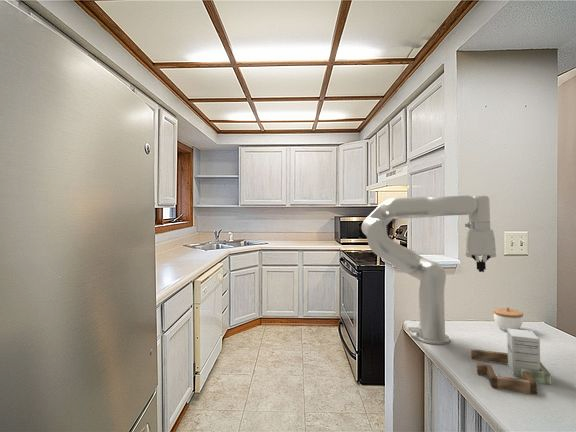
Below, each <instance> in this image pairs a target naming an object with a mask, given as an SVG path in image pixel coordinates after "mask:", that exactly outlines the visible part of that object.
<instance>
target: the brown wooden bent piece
mask: <svg viewBox="0 0 576 432" xmlns="http://www.w3.org/2000/svg"><path fill="white" fill-rule="evenodd" d="M486 370H487V376H486V378H487V380H488V383H489V385H490V387H491V389H498V390H504V391H505V390H506V391H513V392H520V393H526V394H530V395H531V394H533V395H537V394H538V384H537V382H535V381H534V379H533V378H532V376H531V375H530V373H529V372H528V371H522V376H523V379H521V378H515V377H508V376H501V375H496V373H495V370H494V368H493V367H488V366H486Z"/></svg>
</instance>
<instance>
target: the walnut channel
mask: <svg viewBox="0 0 576 432" xmlns="http://www.w3.org/2000/svg"><path fill="white" fill-rule="evenodd" d="M470 354H471V355H470V356H471V357H470V358H471V360H475V361H482V362H483V361H484V362H491V361H492V362H493V363H499V362H501V364H508V352H502V351H493V350H492V351H491V350H483V349H474V348H471V349H470ZM492 362H491V363H492ZM486 366H488V367H492V364H486V363H478V362H477V363H476V374H477V375H478V374H479V376H485V375H486V377H487V370H486ZM492 368H493V367H492ZM522 371H528V372H529V373H530V375H531V376H532V378H533V379H534V381H535V382H536V383H539V384H544V385H545V384H546V385H551V383H552V381H551V380H552V379H551V377H552V376H551V373H550V371H549V370H548V369H547V368H546V367H545V365H543V363H542V362H541V361H540V371H537V370H529V369H521V376H520V379H523V376H522Z"/></svg>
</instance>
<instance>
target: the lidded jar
mask: <svg viewBox="0 0 576 432" xmlns="http://www.w3.org/2000/svg"><path fill="white" fill-rule="evenodd" d="M493 320H494V321H495V324H496V325H497V326H498V328H499V329H500V330H502V331H505V332H507V329H518V330H520V328H521V327H522V326H523V322H524V321H523V320H524V313H523V312H522V311H520V310H518V309H514V308H510V307H496V308H494V309H493Z"/></svg>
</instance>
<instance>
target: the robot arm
mask: <svg viewBox="0 0 576 432" xmlns="http://www.w3.org/2000/svg"><path fill="white" fill-rule="evenodd" d="M490 207H491V204H490V197H488V195H474V196H471V195H467V194H466V195H452V196H451V195H449V196H409V197H393V198H387V199H386V200H384V201H382V202H381V203H380V204H379V205H378V206H377V207H376V208H375V209H374V210H373V211H372V212H371V213H370V214H369V215H368V216H367V217H366V218H365V219H364V220H363V222H362V224H361V232H362V233H363V234H364V235H365V236H366V240H367V244H368V246H369V248H370V250H371V251H372V252H373V254H375V255H376V256H378V257H379V258H381V259H382V260H385V261H386V262H387V263H390V264H391V265H392V266H394V267H395V268H396V269H398V270H401V271H403V272H404V273H406V274H408V275H410V276H411V277H413V278H415V279H417V280H419V287H418V288H419V289H418V311H419V312H418V314H419V315H418V316H419V324H418V325H416V326H412V325H408V327H407V328H408V330H407V331H410V332H411V333H416V334H415V337H416V339H417V340H419V342H423V343H427V344H431V345H445V344H448V343H449V342H450V341H451V339H450V335H448V334H446V314H445V311H446V309H445V286H446V282H447V281H446V279H447V277H446V276H447V275H446V274H447V273H446V271H445V269H444V267H443V266H442V265H441V264H440V263H438V262H435V261H433V260H430V259H428V258H426V257H424V256H421V255H420V254H418V253H417V252H416V251H414V250H412V249H411V248H409V247H405V246H403V245H401V244H399V243H398V242H396V241H394V240H393V239H391V238H390V237H389V235H388V230H387V226H388V224H390V222H391V221H393V219H395V220H397V219H399V220H400V219H415V218H416V219H417V218H418V219H420V218H436V217H445V216H450V217H451V216H468V222H467V223H465V224H464V227H465V228H468V229H467V230H466V236H465V237H466V238H465V250H466V251H465V256H466V257H467V258H471V259H473V260H474V261H475V262H476V270H478V272H479V273H484V272H485V270H486V269H487V268H486V267H487V266H486V262H487V261H488V260H490V259H491V258H496V257H497V254H496V252H497V250H496V249H497V246H496V238H495V233H494V230H493V229H492V228H491V208H490ZM479 256H482V258H481V259H480V257H479Z"/></svg>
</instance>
